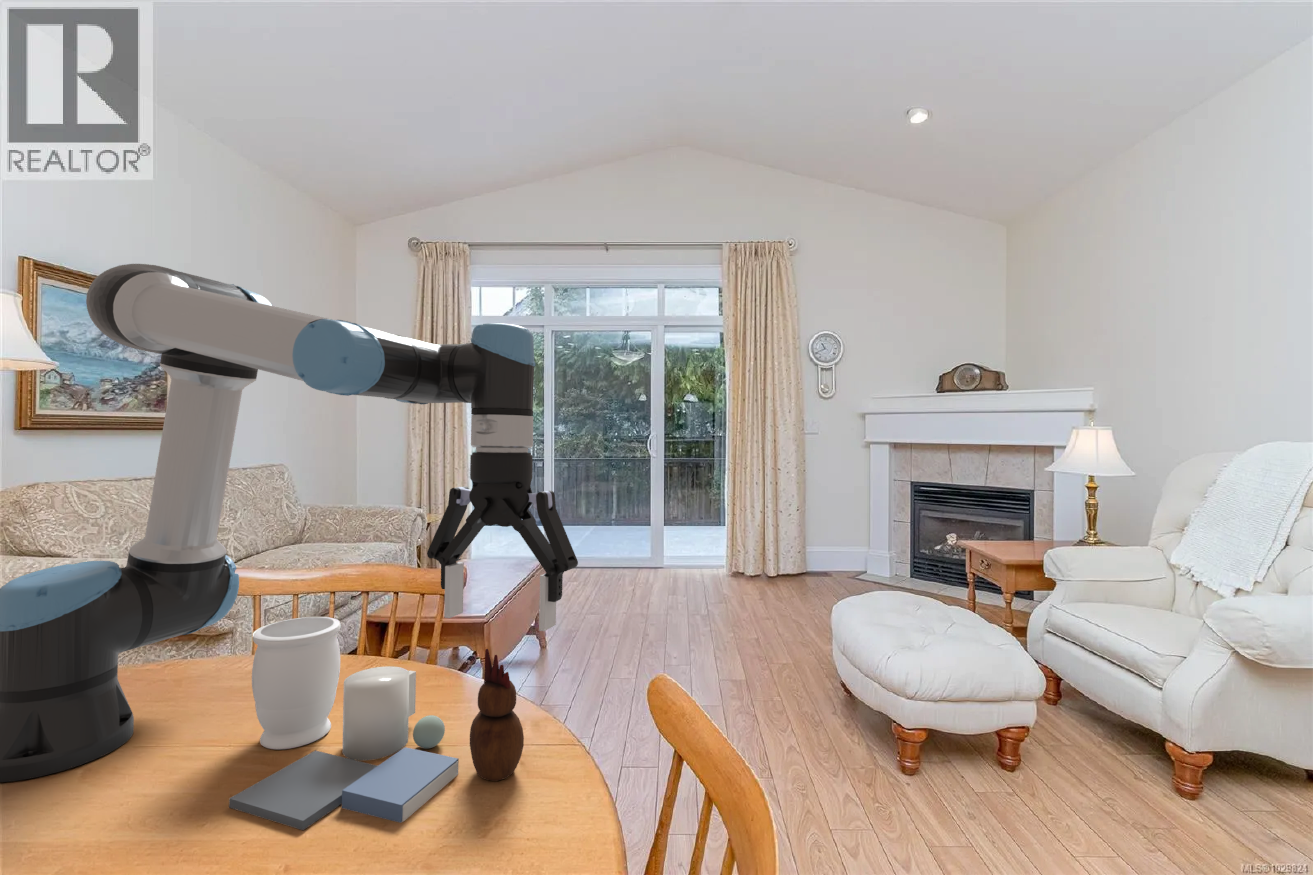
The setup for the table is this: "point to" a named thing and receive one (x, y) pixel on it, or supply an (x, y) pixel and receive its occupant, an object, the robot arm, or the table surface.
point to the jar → (295, 679)
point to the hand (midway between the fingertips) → (499, 621)
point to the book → (400, 784)
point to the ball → (428, 731)
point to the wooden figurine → (496, 725)
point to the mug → (377, 711)
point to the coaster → (301, 790)
